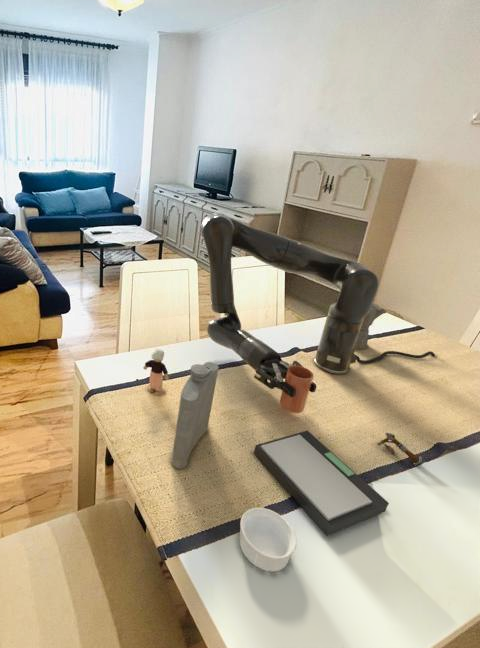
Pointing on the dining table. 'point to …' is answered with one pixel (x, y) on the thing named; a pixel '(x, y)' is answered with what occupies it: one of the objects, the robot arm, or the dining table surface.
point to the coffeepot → (367, 325)
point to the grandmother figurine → (157, 372)
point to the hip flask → (194, 411)
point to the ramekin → (266, 539)
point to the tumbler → (297, 388)
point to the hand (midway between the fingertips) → (304, 391)
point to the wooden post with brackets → (401, 447)
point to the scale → (320, 482)
